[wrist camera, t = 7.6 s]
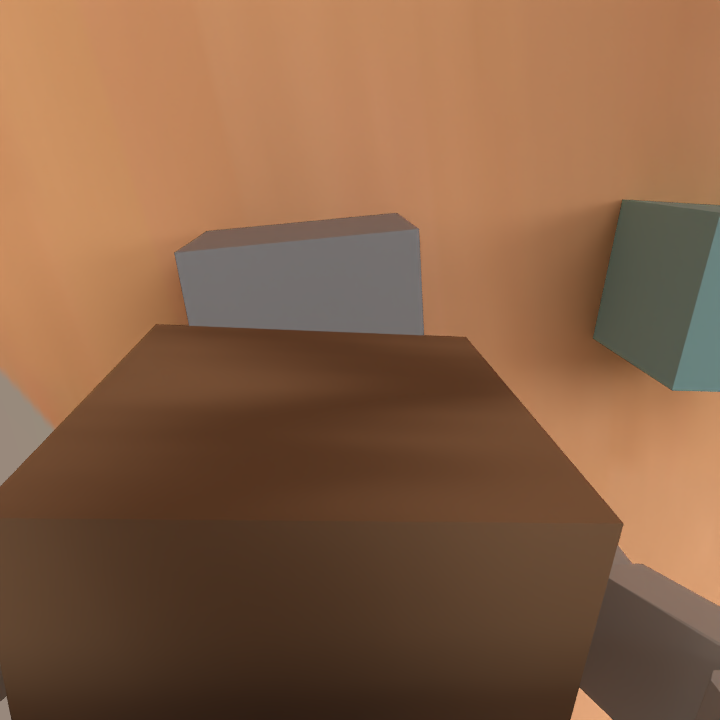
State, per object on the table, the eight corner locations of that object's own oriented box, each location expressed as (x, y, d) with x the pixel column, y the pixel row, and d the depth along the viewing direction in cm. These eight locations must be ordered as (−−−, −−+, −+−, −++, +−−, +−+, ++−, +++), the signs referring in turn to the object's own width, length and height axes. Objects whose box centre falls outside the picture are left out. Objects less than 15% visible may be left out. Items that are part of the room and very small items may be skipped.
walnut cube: (466, 337, 10) (623, 523, 5) (432, 579, 12) (522, 897, 7) (156, 324, 10) (-29, 517, 4) (171, 579, 11) (53, 925, 6)
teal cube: (757, 207, 21) (896, 222, 16) (717, 342, 23) (831, 395, 18) (621, 199, 21) (720, 212, 16) (592, 337, 23) (672, 390, 18)
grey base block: (396, 212, 21) (419, 228, 16) (406, 384, 23) (428, 443, 18) (207, 230, 20) (174, 253, 16) (238, 402, 23) (217, 466, 18)
